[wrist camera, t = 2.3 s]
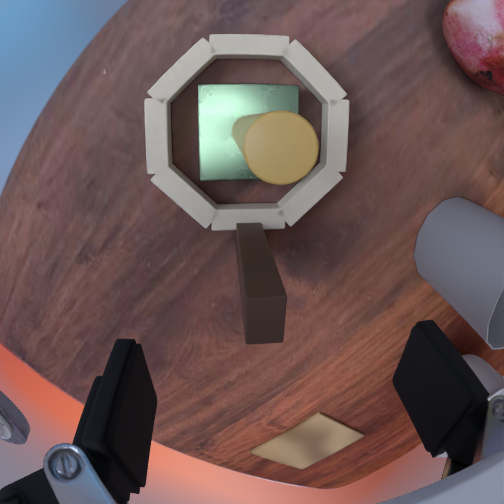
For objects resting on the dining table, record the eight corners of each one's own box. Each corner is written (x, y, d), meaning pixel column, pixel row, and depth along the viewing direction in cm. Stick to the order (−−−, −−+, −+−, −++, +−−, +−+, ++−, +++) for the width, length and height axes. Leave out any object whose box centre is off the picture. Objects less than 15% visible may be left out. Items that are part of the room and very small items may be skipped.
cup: (397, 253, 23) (471, 324, 14) (454, 177, 21) (545, 218, 12) (442, 297, 26) (502, 361, 17) (490, 233, 23) (560, 281, 14)
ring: (150, 44, 15) (90, -10, 6) (342, 48, 16) (429, 10, 7) (159, 251, 21) (122, 345, 12) (331, 246, 22) (393, 330, 13)
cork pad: (301, 467, 37) (302, 469, 37) (249, 450, 33) (249, 452, 33) (363, 433, 35) (364, 435, 34) (318, 411, 31) (319, 414, 30)
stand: (200, 177, 19) (172, 258, 9) (199, 86, 17) (164, 39, 6) (292, 176, 20) (373, 251, 9) (294, 87, 18) (388, 54, 7)
